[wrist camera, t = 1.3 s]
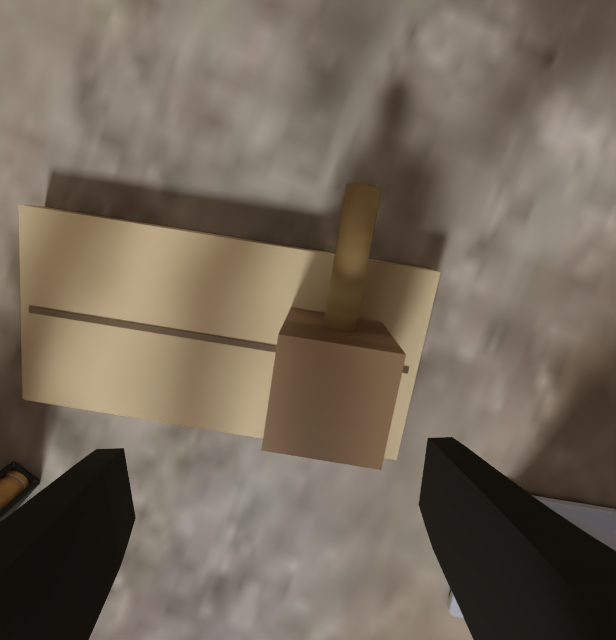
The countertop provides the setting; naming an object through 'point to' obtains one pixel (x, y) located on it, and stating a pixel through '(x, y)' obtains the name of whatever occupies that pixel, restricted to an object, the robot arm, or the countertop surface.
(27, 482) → the ammunition clip
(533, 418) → the countertop surface
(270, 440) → the mallet
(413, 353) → the board
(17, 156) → the countertop surface
